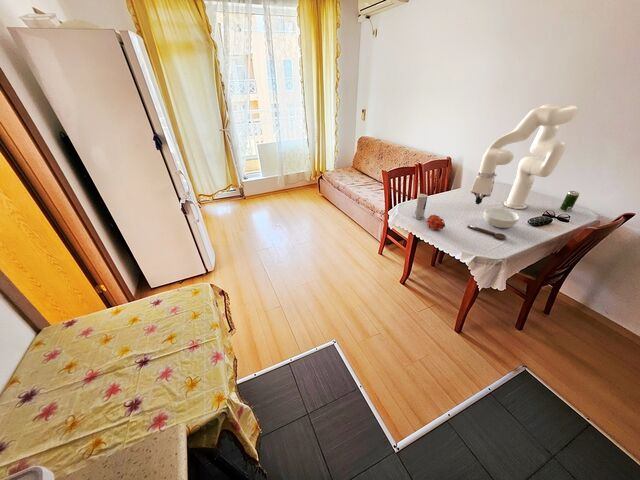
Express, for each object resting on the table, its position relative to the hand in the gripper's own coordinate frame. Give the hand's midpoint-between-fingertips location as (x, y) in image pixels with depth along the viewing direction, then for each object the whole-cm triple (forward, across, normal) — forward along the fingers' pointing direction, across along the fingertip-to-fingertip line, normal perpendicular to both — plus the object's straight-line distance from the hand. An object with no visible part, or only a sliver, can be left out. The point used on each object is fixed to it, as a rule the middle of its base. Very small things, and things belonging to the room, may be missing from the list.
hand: (477, 203), depth 155 cm
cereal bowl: (+8, -14, +3) cm, 17 cm away
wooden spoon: (+8, -13, +18) cm, 24 cm away
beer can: (+11, -37, -44) cm, 58 cm away
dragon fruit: (+7, +10, +32) cm, 34 cm away
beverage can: (+7, +24, +26) cm, 36 cm away
